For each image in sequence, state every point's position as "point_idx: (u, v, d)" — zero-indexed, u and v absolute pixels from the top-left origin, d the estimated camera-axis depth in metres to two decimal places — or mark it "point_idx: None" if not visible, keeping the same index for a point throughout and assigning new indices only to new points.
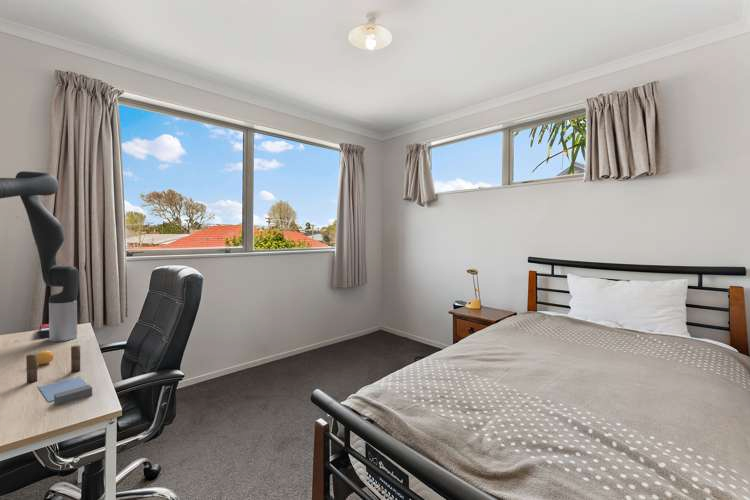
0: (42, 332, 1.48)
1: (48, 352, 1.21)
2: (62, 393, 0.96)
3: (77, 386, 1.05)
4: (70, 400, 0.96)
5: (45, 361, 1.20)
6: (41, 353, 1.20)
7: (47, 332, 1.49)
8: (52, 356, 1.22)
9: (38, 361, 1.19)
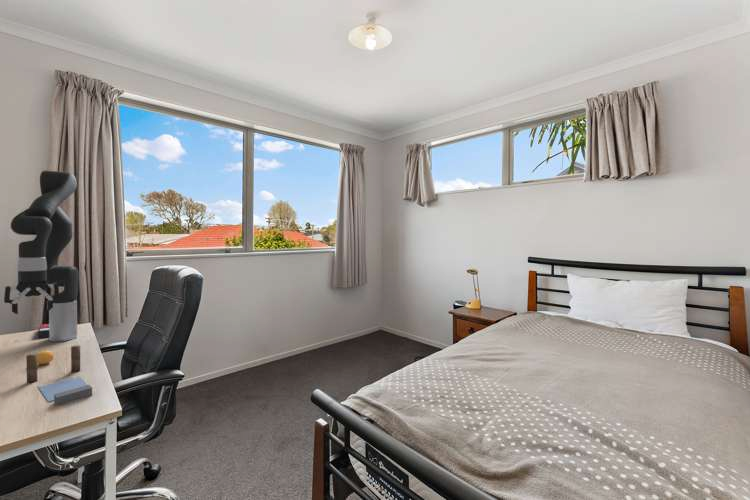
0: (41, 332, 1.47)
1: (48, 352, 1.21)
2: (62, 393, 0.96)
3: (77, 386, 1.05)
4: (70, 400, 0.96)
5: (45, 361, 1.20)
6: (41, 353, 1.20)
7: (46, 332, 1.49)
8: (52, 356, 1.22)
9: (38, 361, 1.19)
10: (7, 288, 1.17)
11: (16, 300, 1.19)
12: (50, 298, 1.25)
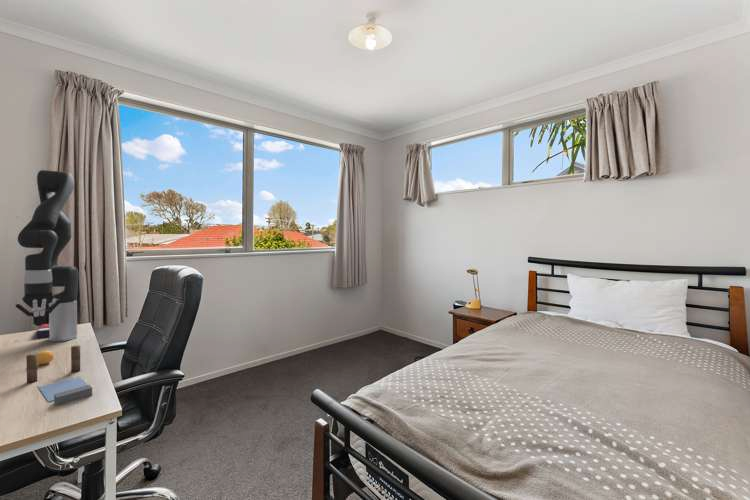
0: (39, 332, 1.47)
1: (48, 352, 1.21)
2: (62, 393, 0.96)
3: (77, 386, 1.05)
4: (70, 400, 0.96)
5: (45, 361, 1.20)
6: (41, 353, 1.20)
7: (44, 332, 1.48)
8: (52, 356, 1.22)
9: (38, 361, 1.19)
10: (17, 306, 1.20)
11: (36, 313, 1.24)
12: (41, 313, 1.26)
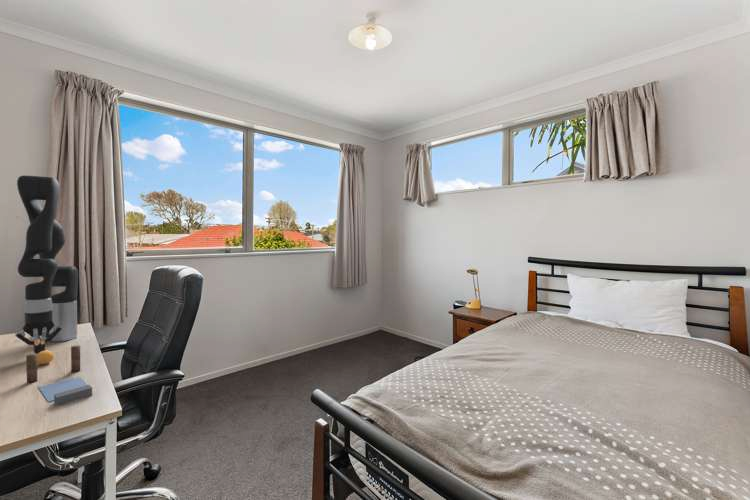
0: None
1: (48, 352, 1.21)
2: (62, 393, 0.96)
3: (77, 386, 1.05)
4: (70, 400, 0.96)
5: (45, 361, 1.20)
6: (41, 353, 1.20)
7: None
8: (52, 356, 1.22)
9: (38, 361, 1.19)
10: (18, 336, 1.21)
11: (36, 341, 1.25)
12: (42, 342, 1.26)
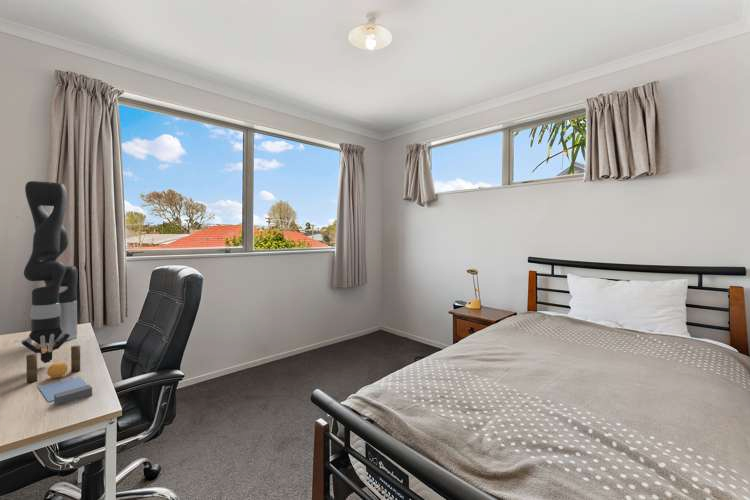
0: None
1: (62, 366, 1.11)
2: (62, 393, 0.96)
3: (77, 386, 1.05)
4: (70, 400, 0.96)
5: (58, 376, 1.10)
6: (54, 367, 1.09)
7: None
8: (65, 370, 1.12)
9: (50, 375, 1.09)
10: (24, 343, 1.14)
11: (43, 349, 1.18)
12: (49, 349, 1.19)
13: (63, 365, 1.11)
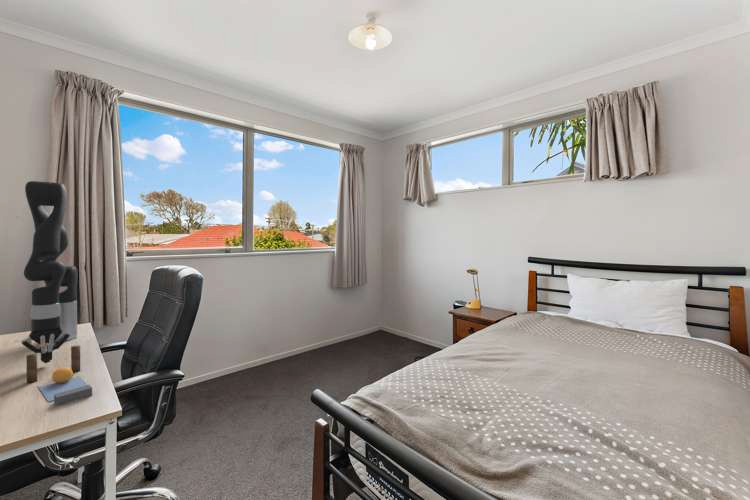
0: None
1: None
2: (62, 393, 0.96)
3: (77, 386, 1.05)
4: (70, 400, 0.96)
5: None
6: None
7: None
8: None
9: None
10: (24, 343, 1.14)
11: (43, 349, 1.18)
12: (49, 349, 1.19)
13: None
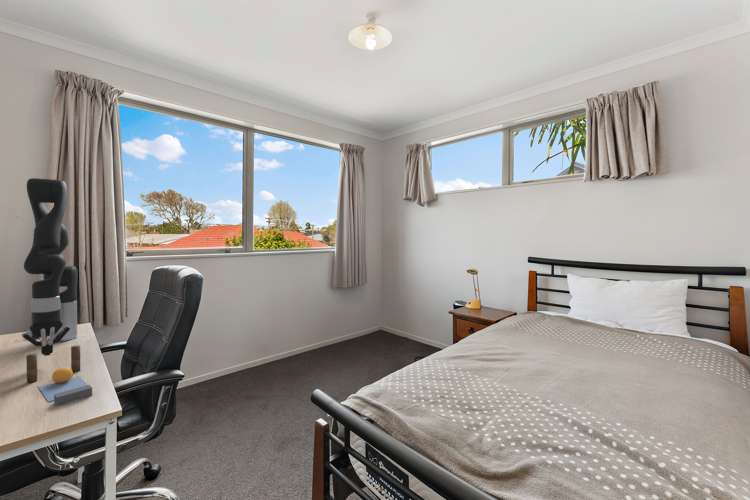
0: None
1: None
2: (62, 393, 0.96)
3: (77, 386, 1.05)
4: (70, 400, 0.96)
5: None
6: None
7: None
8: None
9: None
10: (25, 336, 1.14)
11: (44, 342, 1.18)
12: (50, 343, 1.19)
13: None
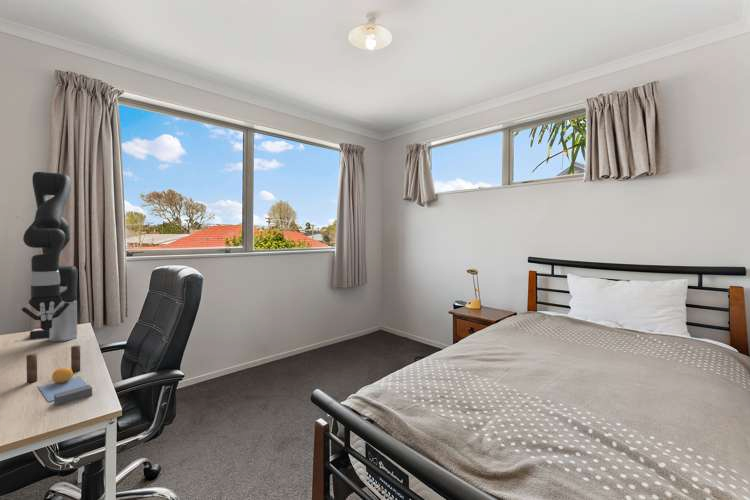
0: (32, 333, 1.46)
1: None
2: (62, 393, 0.96)
3: (77, 386, 1.05)
4: (70, 400, 0.96)
5: None
6: None
7: (37, 333, 1.47)
8: None
9: None
10: (24, 309, 1.13)
11: (43, 317, 1.17)
12: (49, 317, 1.18)
13: None
